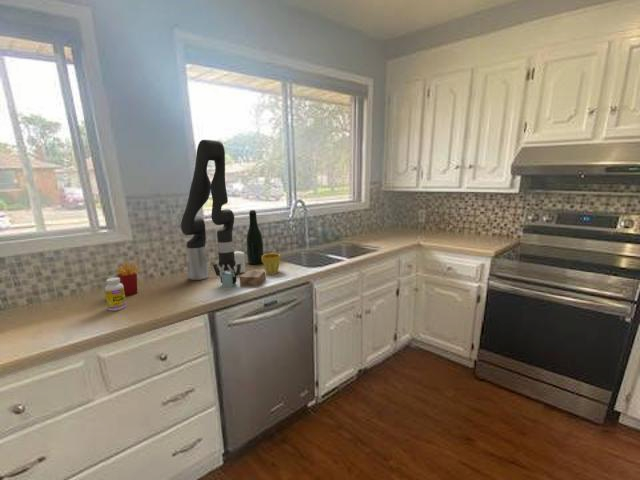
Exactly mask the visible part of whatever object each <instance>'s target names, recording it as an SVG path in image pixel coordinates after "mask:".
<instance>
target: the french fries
mask: <svg viewBox="0 0 640 480" xmlns="http://www.w3.org/2000/svg"><path fill="white" fill-rule="evenodd" d="M136 267H137V268H136ZM135 268H136V269H135ZM140 268H141V265H138V266H137V264H135V263H134V262H131V263H130V264H129V263H128V262H125V263H123V264H122V265H119V266H118V269H117V270H116V272H118V273H117V277H118V278H120V283H121V284H123V286H124V293H125V297H128V296H132V295H137V294H138V274H137V272H138V271H139V269H140Z"/></svg>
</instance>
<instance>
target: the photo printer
mask: <svg viewBox="0 0 640 480" xmlns="http://www.w3.org/2000/svg"><path fill="white" fill-rule="evenodd" d="M234 256H235V262H236V263H241V270H240V274H244V273H245V272H246V262H245V261H246V259H245V253H244V251H239V250H237V251H234ZM234 268H235V272H236V271H237V267H236V265H235V266H234ZM226 272H230V271H228V270H226Z"/></svg>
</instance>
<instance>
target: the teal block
mask: <svg viewBox="0 0 640 480" xmlns="http://www.w3.org/2000/svg"><path fill="white" fill-rule="evenodd" d="M221 277H222V283H221V285H222V287H224V288H232V287H234V286H235V285H236V283H237V282H236V283H235V284H233V278H232V277H233V276H232V274H231V272H227V271H225V273H223V274H222V275H221Z"/></svg>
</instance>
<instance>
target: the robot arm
mask: <svg viewBox="0 0 640 480" xmlns="http://www.w3.org/2000/svg"><path fill="white" fill-rule="evenodd" d="M225 152H226V151H225V147H224V144H223V142H222V141H220V140H216V139H215V140H214V139H213V140H212V139H202V140H200V141H199V143H198V145H197V149H196V155H195V165H194V172H193V175H192V182H191V184H190V189H189V194H188V199H187V201H186V206H185V209H184V213H183V215H182V218H181V221H180V230H181V233H182V234H183V235H185V236H191V235H192V237H191V239H189V240H188V241H186V251H187V258H188V260H187V261H186V266H187V275H188V279H189V280H193V281H199V280H205V279H207V278H209V269H208V260H207V251H206V241H207V236H206V234H207V233H206V223H205V220H204V218H203V217H202V216H199V215H197V214H198V212H199V211H200V210H201V209H202V207H203V206H204V205H205V204H206V203H207V202H208V200H209V197H210V195H211V198H212V199H211V200H212V206H211V217H210V218H211V221H212V223H213V224H214V225H215V226H222V225H223V227H222V228H220V229H218V230H217V232H216V237H217V253H218V262H216V263H214V264H213V265H212V266H213V270H214V272H215V275H216V276H218V277H220V282H221V284H222V277H221V275H222V274H223V273H225V272H227V270H228V271H230V272H231V274H232V276H233V277H232V278H233V284H235V283H237V276H238V277H239V275H240V274H241V273H240V270H241V263H236V262H235V256H234V252H235V247H234V241H233V239H234V238H233V230H234V223H235V214H234V212H233V210H231V209H229V208H225V209H222V206H223V205H226V204H227V203H228V202H229V198H228V193H227V192H228V191H227V186H226V153H225ZM209 161H211V162H212V161H214V167H215V169H214V173H213V176H212V177H213V178H212V180H210V176H209V175H208V164H209ZM235 265H236V267H237V271H236V272H235V268H234V266H235ZM219 267H220V268H219ZM220 269H221V270H220ZM235 285H236V284H235Z"/></svg>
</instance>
